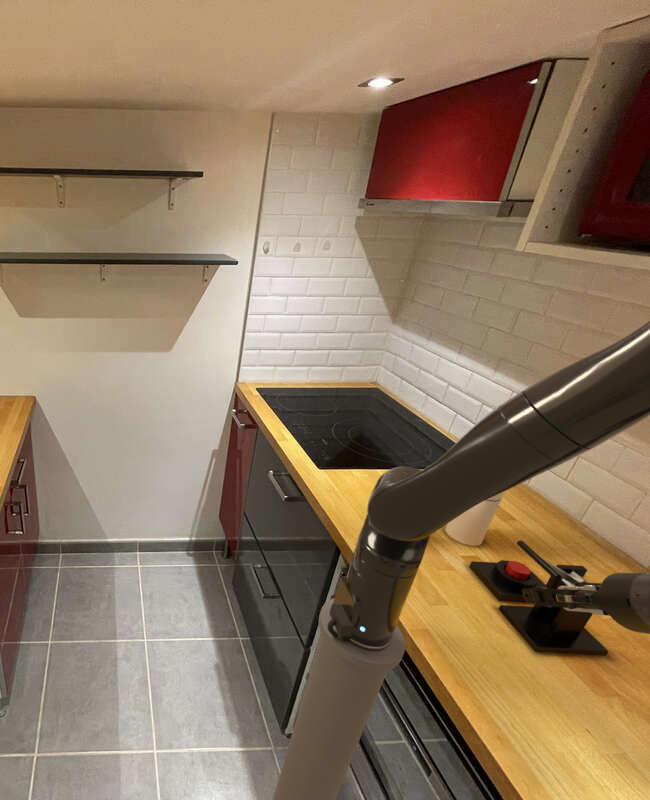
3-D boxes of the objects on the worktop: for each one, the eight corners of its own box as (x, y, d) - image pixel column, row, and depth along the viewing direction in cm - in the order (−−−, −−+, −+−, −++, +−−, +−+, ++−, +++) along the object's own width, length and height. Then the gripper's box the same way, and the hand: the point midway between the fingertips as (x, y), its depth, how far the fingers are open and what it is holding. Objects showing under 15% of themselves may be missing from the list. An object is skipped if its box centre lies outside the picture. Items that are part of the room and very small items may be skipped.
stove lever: (548, 580, 72) (561, 571, 72) (511, 545, 80) (523, 536, 79) (598, 610, 74) (611, 601, 74) (557, 573, 82) (569, 565, 81)
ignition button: (513, 580, 89) (516, 573, 89) (500, 566, 93) (503, 560, 92) (532, 581, 89) (535, 574, 89) (518, 567, 93) (521, 561, 92)
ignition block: (498, 601, 88) (505, 588, 87) (468, 567, 97) (474, 554, 95) (556, 604, 88) (563, 591, 87) (521, 569, 96) (527, 557, 95)
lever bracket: (534, 651, 79) (568, 595, 73) (498, 609, 87) (526, 555, 81) (605, 656, 78) (645, 599, 72) (562, 612, 86) (594, 558, 80)
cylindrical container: (438, 528, 108) (473, 438, 98) (459, 522, 110) (496, 434, 100) (467, 548, 102) (508, 454, 91) (489, 541, 104) (532, 449, 94)
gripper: (711, 575, 58) (591, 574, 73) (597, 570, 59) (501, 569, 74) (737, 640, 55) (606, 624, 70) (617, 634, 56) (513, 620, 71)
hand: (552, 596), depth 72 cm, fingers open, 8 cm apart
